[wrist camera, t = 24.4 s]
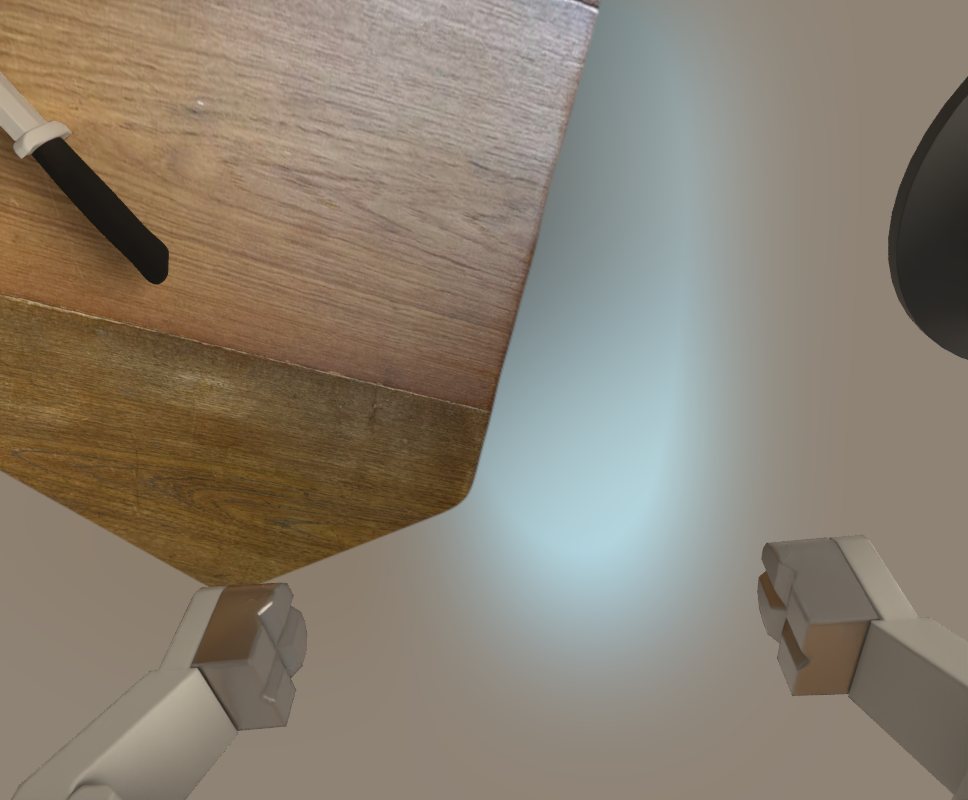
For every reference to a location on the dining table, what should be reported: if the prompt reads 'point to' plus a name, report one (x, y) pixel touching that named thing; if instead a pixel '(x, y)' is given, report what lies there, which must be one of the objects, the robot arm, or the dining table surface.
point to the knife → (80, 183)
